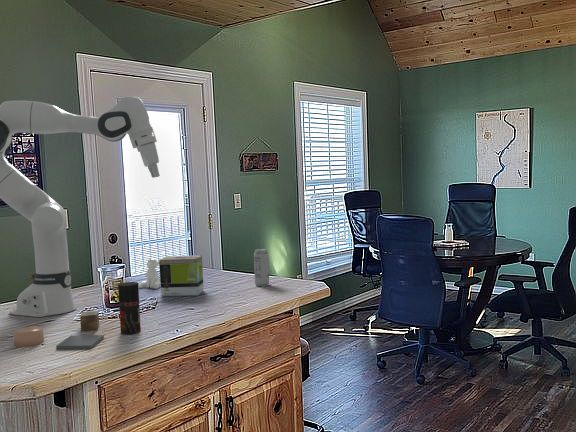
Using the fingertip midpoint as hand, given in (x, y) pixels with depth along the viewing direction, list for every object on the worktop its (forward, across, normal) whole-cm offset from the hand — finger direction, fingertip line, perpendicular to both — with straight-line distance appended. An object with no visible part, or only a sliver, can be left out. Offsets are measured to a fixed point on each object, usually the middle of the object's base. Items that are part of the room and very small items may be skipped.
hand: (156, 177), depth 211 cm
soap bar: (+31, +33, -52) cm, 69 cm away
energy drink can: (+56, -16, +29) cm, 65 cm away
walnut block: (+39, +24, -37) cm, 59 cm away
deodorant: (+42, +34, -26) cm, 60 cm away
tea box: (+48, -15, -3) cm, 50 cm away
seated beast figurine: (+44, -35, -13) cm, 58 cm away
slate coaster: (+39, +40, -40) cm, 68 cm away
